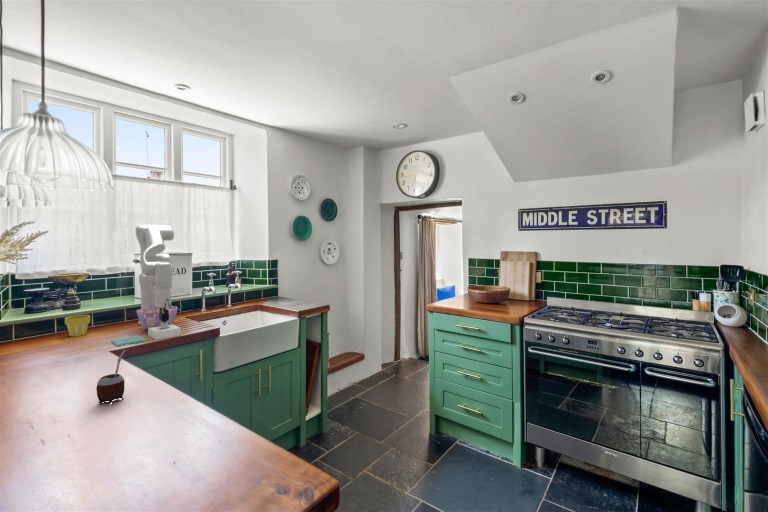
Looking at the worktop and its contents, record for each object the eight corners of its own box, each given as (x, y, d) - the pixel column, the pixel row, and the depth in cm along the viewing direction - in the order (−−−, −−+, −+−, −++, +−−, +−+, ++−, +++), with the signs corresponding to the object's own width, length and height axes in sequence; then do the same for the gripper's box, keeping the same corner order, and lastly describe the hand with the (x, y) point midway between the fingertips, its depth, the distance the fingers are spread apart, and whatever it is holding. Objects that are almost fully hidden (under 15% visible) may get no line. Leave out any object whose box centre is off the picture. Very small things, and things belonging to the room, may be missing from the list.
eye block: (148, 335, 192) (148, 328, 191) (173, 331, 201) (172, 324, 200) (155, 339, 184) (155, 332, 183) (180, 335, 192) (180, 328, 192)
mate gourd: (95, 408, 109) (94, 360, 108) (98, 399, 116) (97, 353, 115) (126, 402, 113) (124, 355, 113) (127, 393, 120) (125, 349, 119)
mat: (111, 341, 180) (111, 340, 180) (139, 337, 189) (139, 335, 189) (117, 346, 172) (116, 344, 172) (146, 341, 181) (146, 339, 181)
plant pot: (91, 331, 199) (91, 314, 199) (89, 335, 190) (88, 317, 190) (67, 334, 193) (66, 316, 193) (63, 338, 185) (62, 319, 184)
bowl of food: (146, 335, 192) (146, 314, 191) (130, 330, 203) (129, 309, 202) (184, 328, 208) (184, 308, 208) (167, 323, 219) (167, 304, 219)
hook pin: (160, 334, 192) (159, 309, 192) (166, 332, 195) (166, 309, 194) (162, 335, 190) (161, 310, 189) (168, 334, 192) (168, 309, 192)
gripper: (150, 284, 194) (151, 318, 195) (160, 288, 183) (161, 323, 184) (166, 283, 199) (166, 316, 200) (176, 286, 188) (177, 321, 189)
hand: (164, 319), depth 192 cm, fingers closed on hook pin, 3 cm apart
